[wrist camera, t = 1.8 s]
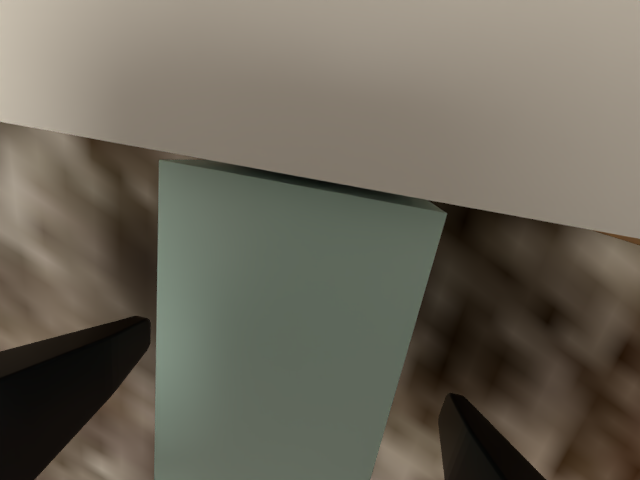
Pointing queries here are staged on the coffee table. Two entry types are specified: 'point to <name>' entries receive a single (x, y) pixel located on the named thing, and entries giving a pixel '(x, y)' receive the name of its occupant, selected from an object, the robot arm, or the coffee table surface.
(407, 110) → the bar
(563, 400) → the coffee table surface
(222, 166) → the charger
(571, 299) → the coffee table surface
